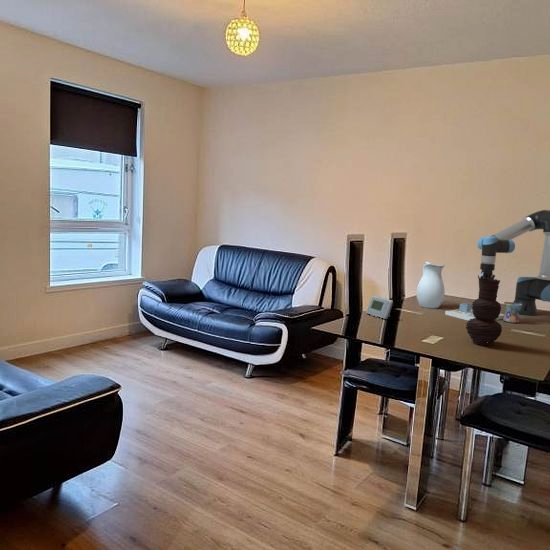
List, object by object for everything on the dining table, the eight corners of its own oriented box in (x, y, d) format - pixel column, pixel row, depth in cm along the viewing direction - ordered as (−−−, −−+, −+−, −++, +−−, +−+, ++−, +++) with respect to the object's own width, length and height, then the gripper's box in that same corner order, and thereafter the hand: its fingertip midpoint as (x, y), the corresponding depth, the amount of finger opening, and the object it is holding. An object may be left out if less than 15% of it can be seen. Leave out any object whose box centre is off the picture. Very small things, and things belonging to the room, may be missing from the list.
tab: (463, 310, 294) (464, 302, 294) (470, 311, 290) (471, 303, 289) (459, 310, 292) (460, 302, 291) (466, 312, 288) (467, 304, 287)
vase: (482, 349, 217) (490, 282, 213) (456, 339, 231) (464, 276, 227) (507, 347, 223) (516, 282, 219) (481, 338, 237) (488, 276, 233)
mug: (517, 324, 273) (520, 306, 272) (500, 321, 279) (502, 303, 278) (522, 321, 283) (524, 303, 281) (505, 318, 288) (507, 300, 287)
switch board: (476, 311, 306) (477, 306, 305) (506, 318, 289) (507, 313, 289) (445, 314, 289) (445, 309, 289) (474, 322, 273) (475, 317, 272)
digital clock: (364, 313, 277) (366, 295, 276) (378, 313, 281) (380, 295, 279) (380, 320, 262) (381, 301, 261) (394, 320, 266) (396, 300, 264)
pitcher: (446, 310, 303) (451, 265, 299) (419, 308, 303) (423, 263, 299) (434, 302, 326) (439, 261, 323) (409, 301, 327) (413, 259, 323)
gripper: (488, 262, 286) (485, 301, 290) (474, 262, 279) (471, 303, 283) (500, 263, 280) (496, 304, 283) (486, 264, 273) (482, 305, 276)
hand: (483, 303), depth 283 cm, fingers closed
